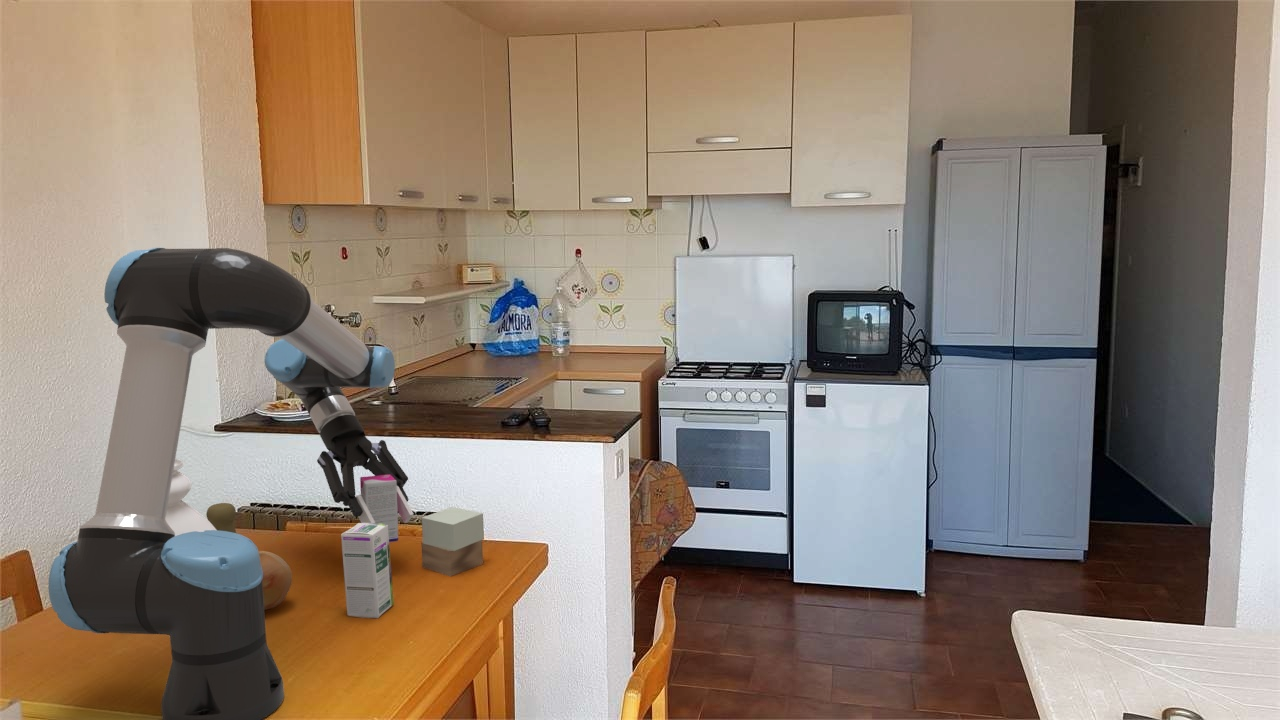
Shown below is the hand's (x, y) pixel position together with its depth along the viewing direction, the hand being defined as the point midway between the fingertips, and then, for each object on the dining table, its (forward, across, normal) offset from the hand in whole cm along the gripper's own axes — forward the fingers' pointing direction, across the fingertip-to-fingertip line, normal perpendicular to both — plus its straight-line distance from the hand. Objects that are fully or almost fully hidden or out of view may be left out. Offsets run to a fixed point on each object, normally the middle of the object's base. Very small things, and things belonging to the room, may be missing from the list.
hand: (390, 523), depth 175 cm
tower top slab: (+6, -11, -1) cm, 13 cm away
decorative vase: (-5, +32, -21) cm, 39 cm away
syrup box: (+15, +11, -1) cm, 18 cm away
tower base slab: (+10, -11, -5) cm, 16 cm away
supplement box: (0, 0, -5) cm, 5 cm away
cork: (-17, +15, -32) cm, 39 cm away
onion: (+4, +22, -11) cm, 25 cm away
